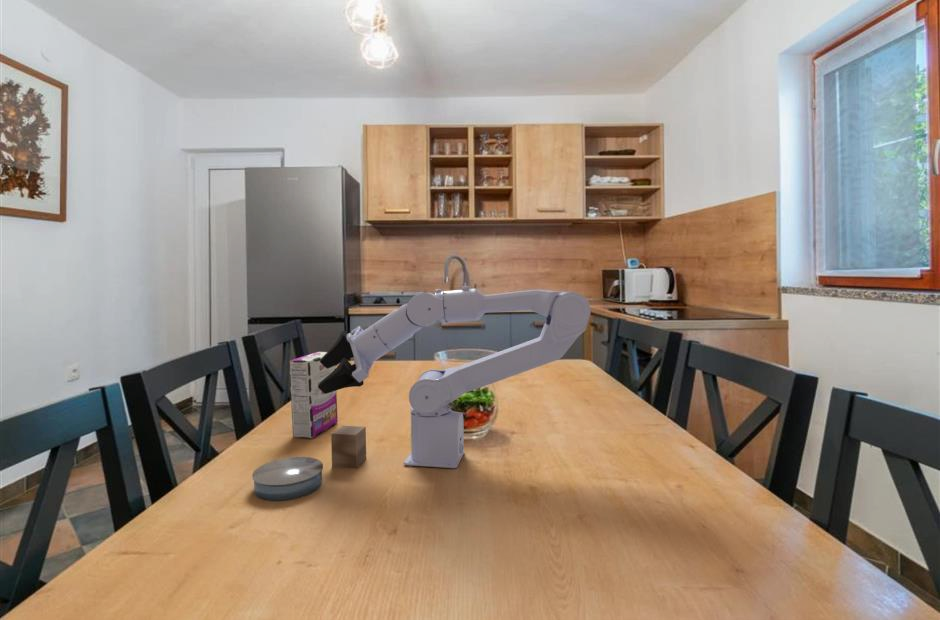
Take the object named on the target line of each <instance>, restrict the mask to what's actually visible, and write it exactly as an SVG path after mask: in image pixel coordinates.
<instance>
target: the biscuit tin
mask: <svg viewBox="0 0 940 620" xmlns="http://www.w3.org/2000/svg"><path fill="white" fill-rule="evenodd" d="M323 468H324V464H323V462H322V461H321V460H319V459H317V458H314V457H308V456H292V457H283V458H278V459H274V460H272V461H270V462H266V463H263V464H262V465H260V466H258V467H257V468H256V469H254V471H253V472H252V480H253V489H254V490H253V491H254V495H255V497H256V498H257V499H260V500H262V501H268V502H286V501H292V500H296V499H297V500H298V499H300V498H304V497H307V496H309V495H310V494H312V493H315V492H316V491H318V490H319V488H321V486H322V484H323V470H324V469H323Z"/></svg>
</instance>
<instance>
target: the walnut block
mask: <svg viewBox="0 0 940 620" xmlns="http://www.w3.org/2000/svg"><path fill="white" fill-rule="evenodd" d="M366 431H367V427H366V426H359V425H358V426H357V425H356V426H355V425H341V426H340V427H338V428H337V429H336V430H334V431H333V432H331V434H330V435H331V436H330V437H331V440H330V441H331V442H330V443H331V468H340V469H341V468H342V469H355V470H356V469H358V468H359V467H360V466H361V465H362V464H363V463H364V462H365V461H366V460H367V432H366Z"/></svg>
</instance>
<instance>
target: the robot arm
mask: <svg viewBox="0 0 940 620" xmlns="http://www.w3.org/2000/svg"><path fill="white" fill-rule="evenodd" d="M519 311H531V312H534V313H536V314H539V315H541V316H544V317H545V322H544V324H543V327H542V329H541V333H540V335H539V336H538V337H536V338H533V339H531V340H528V341H524V342H522V343H520V344H517V345H514V346H511V347H509V348H505V349H503V350H500V351H498V352H494V353H491V354H489V355H486V356H484V357H481V358H478V359H476V360H473V361H472V360H471V362H467V363H465V364H461V365H458V366H451V367H448V368H445V369H428V370H425V371H424V372H422V373H421V374H420V376H419V377H418V379H417V381H416V382H414V383H413V385H411V387H410V389H409V393H408V401H409V404H410V406H411V407H410V445H411V446H410V451H411V452H410V454H409V455H408V456H407V458H406V459H405V460H404V462H403V464H404V465H405V466H411V467H413V466H416V467H432V468H444V469H445V468H446V469H447V468H448V469H457V468H458V466H459V465H460V462H461V460H462V458H463V456H464V454H465V449H464V448H465V446H464V445H465V443H464V441H465V440H464V439H465V438H464V435H465V433H464V427H465V426H464V415H463V412H461V411H454V410H452V408H451V405H450V404H449V403H452V402H455V401H456V400H458V399H459V398H460V397H462V396H463V395H465V394H467V393H470V392H471V391H472V392H473V391H475V390H477V389H480V388H483V387H486V386H489V385H492V384H494V383H496V382H499V381H502V380H505V379H508V378H510V377H513V376H517V375H519V374H521V373H525V372H527V371H530V370H533V369H537V368H538V367H541V366H544V365H547V364H549V363H552V362H555V361H558V360H560V359H561V358H562V357H564V355H565V354H566V353H567V352H568V351H569V349H570V348H571V346H572V345H573V344H574V343H575V341H576V340H577V339H578V338H579V337H580V336H582V334H583V333H585V331H586V330H587V326H588V324H589V321H590V318H591V314H592V313H591V312H592V311H591V305H590V302H589V300H588V299H587V298H586V296H584V295H582V294H581V293H579V292H575V291H570V290H569V291H568V290H560V291H558V290H550V289H549V290H548V289H528V290H519V291H511V292H510V291H509V292H501V293H493V294H483V293H482V292H481V291H480V290H478V289H477V288H470V285H463V286H462V287H461V289H454V290H444V291H443V290H442V289H441V288H437V289H434V293H432V292H422V293H417V294H415V295H414V296H412V297H411V298H410V299H409V300H408V302H407V303H405V304H402V305H400V306H399V308H397V309H394V310H392V311H391V312H389V313H388V314H386V315H385V316H383V317H382V318H381V319H379V320H378V321H376V322H374V323H373V324H372V325H369V326H368V327H367V328H366V329H363V328H362V327H361V326H360V325H358V326H357V327H356V328H354V329H352V330H351V332H349V333H348V332H347V331H345V330H342V331H341V333H340V334H339V336H338V339H337V340H336V342H335V343H334V344H333V346H332V347H330V348H329V350H328V351H326V352H327V353H326V354H325V355H324V356H323V357H322V359H321V360H320V363H321V364H322V365H323V366H325V367H326V368H327V369H328V368H331V367H333V366H335V370H334V371H333V372H332V373H331V374H330V375H328V376H327V377H326V378H325V379H323V380H322V381H321V382H320V383H319V384H318V388H319V389H320V390H321V391H322V392H323V393H325V394H327V393H330V392H333V391H336V392H337V391H338V390H341V389H345V388H346V389H347V388H353V387H354V388H356V387H362V386H363V385H364V380H366V379H367V378H369V377H370V375H369V373H370V370H371V368H372V367H373V364H374V362H376V361H377V360H378V359H381V357H384V356H385V355H386V354H387V353H390V352H391V351H393V350H394V349H395V348H397V347H398V346H400V345H402V344H403V343H404V342H406V341H407V340H409V339H411V338H412V337H413V336H414V335H415V333H417V332H418V331H420V330H421V329H422V328H424V327H426V328H427V327H429V328H430V327H431V326H432V325H434V324H435V323H437V322H441V323H442V324H451V323H454V324H455V323H463V322H475V321H476V322H478V321H479V320H480V319H481V318H483V315H485V314H486V313H500V312H502V313H503V312H519ZM351 358H353V359H354V360H353V363H351V362H349V359H351Z"/></svg>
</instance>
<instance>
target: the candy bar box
mask: <svg viewBox="0 0 940 620" xmlns="http://www.w3.org/2000/svg"><path fill="white" fill-rule="evenodd" d="M327 352H328V351H316V352H313V353H310V354H309V353H308V354H306V355H303V356H300V357H297V358H294V359H291V360H289V366H288V367H289V380H290V381H289V382H290V386H289V387H290V401H291V402H290V403H291V404H290V405H291V423H292V424H291V425H292V426H291V427H292V438H296V439H314V438H316V437H317V436H320V435H321V434H322V433H324V432H325V431H327V430H328V429H330V428H331V427H333V426H335V425H336V424H337V423H338V422H339V420H338V398H337V397H338V396H337V395H338V394H337V393H338V392H337V390H336V391H333V392H330V393H327V394H325V393H323V392H322V391H321V390H320V389H319V388H318V384H319V383H320V382H321V381H322V380H323V379H325V378H326V377H327V376H328V375H330V374H331V373H332V372H333V371H334V370H335V369H336V365H335V366H333V367H331V368H328V369H327V368H326V367H325V366H323V365H322V364H321V363H320V360H321V359H322V357H323V356H324V355H325V354H326V353H327Z"/></svg>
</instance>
